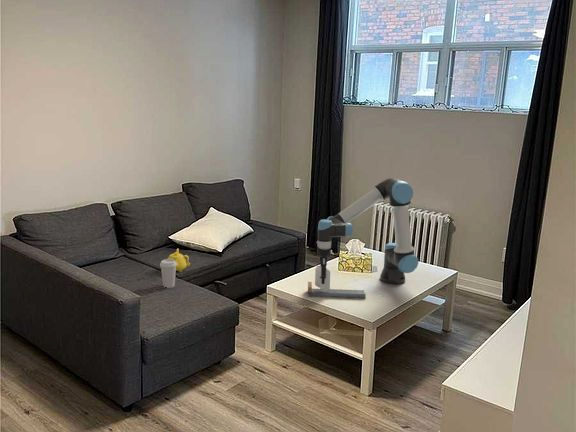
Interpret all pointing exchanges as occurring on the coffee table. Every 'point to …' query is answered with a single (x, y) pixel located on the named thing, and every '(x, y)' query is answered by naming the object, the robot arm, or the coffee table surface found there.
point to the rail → (335, 293)
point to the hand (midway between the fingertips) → (322, 285)
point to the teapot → (179, 260)
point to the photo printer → (318, 279)
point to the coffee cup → (168, 272)
